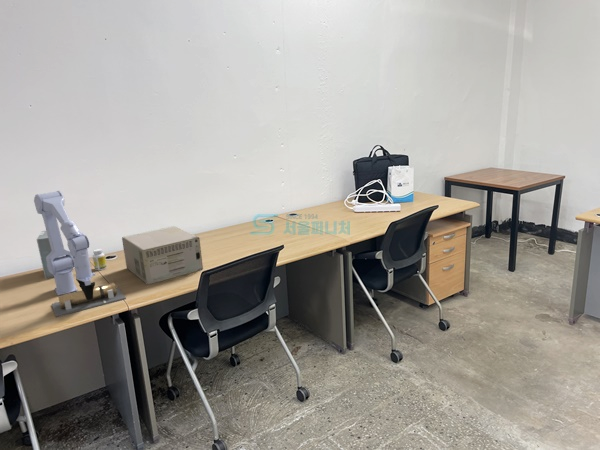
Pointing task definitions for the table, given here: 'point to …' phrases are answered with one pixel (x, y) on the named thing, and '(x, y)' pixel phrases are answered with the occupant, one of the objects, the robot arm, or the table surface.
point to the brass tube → (80, 296)
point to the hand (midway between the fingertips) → (88, 296)
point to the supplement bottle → (99, 260)
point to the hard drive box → (44, 252)
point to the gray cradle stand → (87, 303)
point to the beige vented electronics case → (162, 254)
